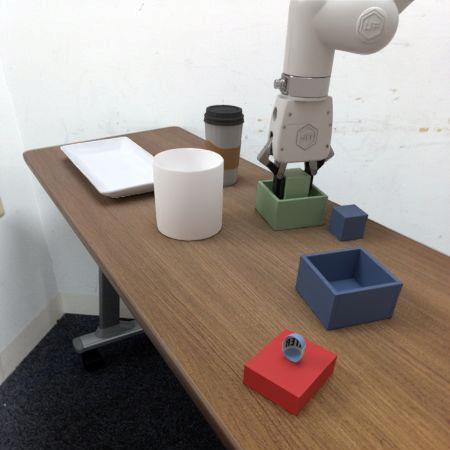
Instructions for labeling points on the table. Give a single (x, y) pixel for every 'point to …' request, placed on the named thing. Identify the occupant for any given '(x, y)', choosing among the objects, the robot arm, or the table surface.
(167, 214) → the cup
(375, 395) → the table surface
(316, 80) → the robot arm
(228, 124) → the coffee cup
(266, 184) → the sage bin
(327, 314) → the slate bin
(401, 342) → the table surface
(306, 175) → the sage block
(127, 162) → the tray
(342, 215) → the slate block
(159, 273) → the table surface
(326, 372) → the red rectangular block
